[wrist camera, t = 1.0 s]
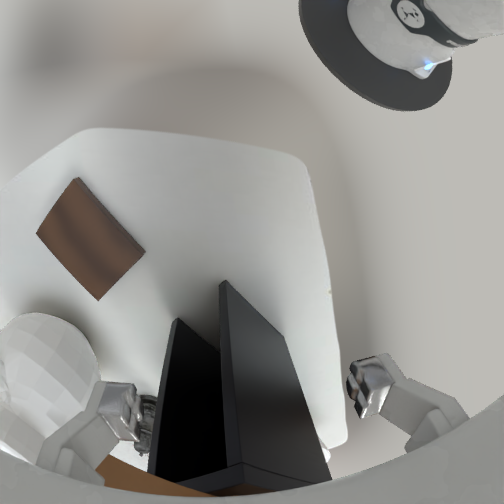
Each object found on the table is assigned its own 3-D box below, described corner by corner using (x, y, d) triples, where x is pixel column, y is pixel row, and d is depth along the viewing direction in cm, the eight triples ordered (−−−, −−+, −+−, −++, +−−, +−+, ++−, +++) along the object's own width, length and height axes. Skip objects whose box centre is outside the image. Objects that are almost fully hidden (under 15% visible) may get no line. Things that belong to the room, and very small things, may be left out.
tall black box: (225, 279, 35) (244, 482, 11) (284, 337, 40) (339, 499, 16) (172, 321, 37) (143, 503, 13) (233, 370, 41) (251, 526, 17)
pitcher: (101, 294, 34) (19, 442, 11) (126, 385, 41) (98, 510, 17) (11, 287, 32) (-75, 382, 9) (44, 370, 38) (-2, 467, 15)
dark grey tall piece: (136, 390, 41) (124, 444, 30) (167, 399, 43) (161, 454, 31) (133, 407, 43) (122, 457, 32) (162, 415, 44) (156, 466, 33)
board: (78, 177, 28) (73, 178, 27) (145, 251, 33) (142, 255, 31) (41, 230, 30) (35, 233, 28) (101, 295, 34) (98, 301, 33)
